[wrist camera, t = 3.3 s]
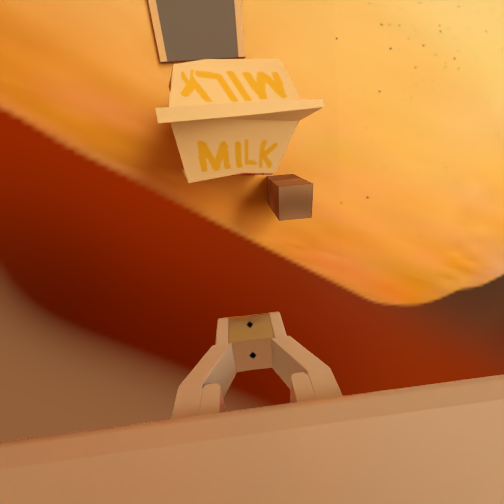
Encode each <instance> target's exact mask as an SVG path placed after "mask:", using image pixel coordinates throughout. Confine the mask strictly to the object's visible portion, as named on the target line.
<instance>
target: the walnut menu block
mask: <svg viewBox="0 0 504 504" xmlns="http://www.w3.org/2000/svg"><path fill="white" fill-rule="evenodd" d="M267 191H268V204H269V205H270V207H271V208H272V210H273V212H274V213H275V215H276V216H277V218H278V220H279V221H281V220H292V219H302V218H312V200H313V183H310V182H308V181H306V180H304V179H302V178H300V177H298V176H296V175H294V174H289V175H278V176H267Z"/></svg>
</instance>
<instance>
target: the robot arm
mask: <svg viewBox="0 0 504 504" xmlns="http://www.w3.org/2000/svg"><path fill="white" fill-rule="evenodd" d="M263 368H273V369H274V370H275V372H276V373H277V374H278V375H279V377H280V378H281V379H282V380H283V381H284V382H285V384H286V385H287V386H288V387H289V388H290V390H291V403H288V404H281V405H274V406H266V407H259V408H251V409H244V410H236V411H229V412H225V407H224V402H223V398H224V396H225V394H226V392H227V390H228V388H229V386H230V384H231V382H232V380H233V378H234V377H235V375H236V372H240V371H247V370H253V369H263ZM0 504H504V375H497V376H490V377H482V378H475V379H467V380H460V381H452V382H445V383H437V384H430V385H422V386H415V387H408V388H400V389H392V390H385V391H377V392H370V393H362V394H355V395H348V396H342V394H341V392H340V389H339V387H338V385H337V382H336V380H335V378H334V376H333V373H332V371H331V369H330V368H329V367H328V366H327V365H326V364H324V363H323V362H322V361H321V360H319V359H318V358H317V357H316V356H314V355H313V354H312V353H310V352H309V351H308V350H307V349H305V348H304V347H303V346H301V345H300V344H299V343H298V342H297V341H295V340H294V339H293V338H292V337H290V336H287V335H286V332H285V329H284V325H283V322H282V319H281V316H280V313H279V312H272V313H265V314H257V315H249V316H238V317H229V318H220V319H218V323H217V336H216V345H213V346H212V347H211V348H210V349H209V350H208V352H207V353H206V354H205V355H204V356H203V358H202V359H201V360H200V361H199V363H198V364H197V365H196V366H195V368H194V369H193V370H192V371H191V372H190V374H189V375H188V376H187V377H186V378H185V380H184V381H183V382H182V383H181V385H180V386H179V387H178V392H177V396H176V400H175V405H174V409H173V414H172V418H171V419H169V420H161V421H154V422H146V423H139V424H132V425H125V426H117V427H109V428H102V429H95V430H87V431H79V432H72V433H65V434H57V435H50V436H42V437H35V438H27V439H20V440H13V441H5V442H0Z"/></svg>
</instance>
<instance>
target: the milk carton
mask: <svg viewBox="0 0 504 504" xmlns="http://www.w3.org/2000/svg"><path fill="white" fill-rule="evenodd" d="M169 89H170V99H169V107H163V108H155V109H156V115H157V121H158V123H166V122H170V123H171V127H172V130H173V133H174V137H175V140H176V143H177V147H178V150H179V153H180V157H181V163H182V172H183V174H184V176H185V178H186V180H187V181H188V183H192V182H197V181H202V180H208V179H213V178H219V177H224V176H229V175H271V174H274V173H276V171H277V169H278V167H279V165H280V162H281V160H282V158H283V156H284V153H285V151H286V149H287V147H288V144H289V142H290V140H291V137H292V135H293V133H294V131H295V128H296V126H297V124H298V122H299V121H300V120H301V119H303V118H305V117H307V116H308V115H310V114H312V113H314V112H315V111H317V110H319V109H321V108H322V107H323V105H324V99H307V100H301V98H300V96H299V94H298V93H297V91H296V89H295V87H294V85H293V83H292V81H291V79H290V77H289V75H288V73H287V71H286V69H285V67H284V65H283V63H282V61H281V59H203V60H197V61H191V62H185V63H178V64H173V69H172V73H171V78H170V82H169Z"/></svg>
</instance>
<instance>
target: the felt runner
mask: <svg viewBox="0 0 504 504" xmlns="http://www.w3.org/2000/svg"><path fill="white" fill-rule="evenodd" d="M148 2H149V7H150V12H151V17H152V22H153V27H154V32H155V37H156V42H157V47H158V52H159V57H160V62H161V63H171V62H187V61H197V60H203V59H236V58H245V46H244V30H243V15H242V0H148Z"/></svg>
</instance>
